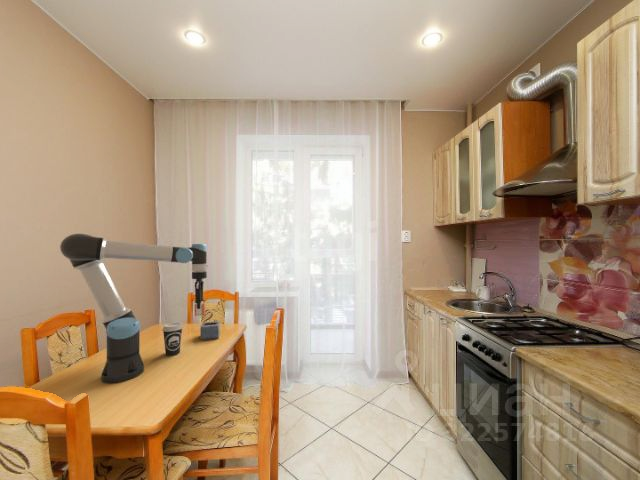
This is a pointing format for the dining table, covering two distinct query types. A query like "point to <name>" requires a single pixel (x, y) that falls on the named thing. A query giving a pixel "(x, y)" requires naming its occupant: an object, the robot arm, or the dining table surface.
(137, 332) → the robot arm
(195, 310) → the salmon pink eraser
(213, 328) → the coin box
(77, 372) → the dining table surface
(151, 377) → the dining table surface
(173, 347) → the coffee cup
